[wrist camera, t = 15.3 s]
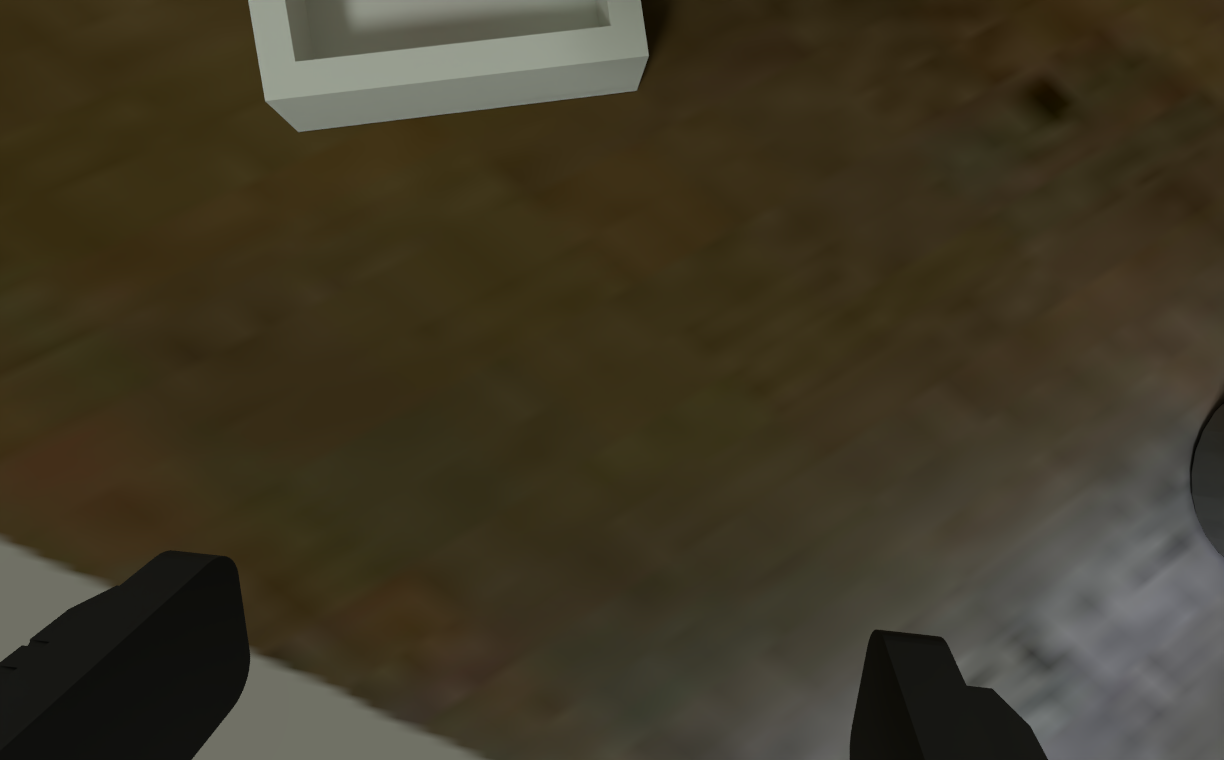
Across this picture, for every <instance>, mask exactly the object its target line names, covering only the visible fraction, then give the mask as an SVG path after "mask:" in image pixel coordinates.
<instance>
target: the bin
mask: <svg viewBox="0 0 1224 760" xmlns="http://www.w3.org/2000/svg"><path fill="white" fill-rule="evenodd" d="M248 2H249V7H250V13H251V19H252V25H253V31H254V37H255V43H256V49H257V55H258V61H259V67H260V73H261V79H262V85H263V90H264V96H265V101H266V102H267V103H268V104H269V105H270V106H271V107H272V108H273V109H274V110H275V111H277V112H278V113H279V114H280V115H281V116H282V117H283V118H284V119H285V120H286V121H287V122H288V123H289V124H290V125H292V126H293V127H294V128H295V129H296V130H297V131H298V132H302V131H310V130H318V129H326V128H335V127H343V126H351V125H359V124H367V123H376V122H384V121H392V120H400V119H409V118H417V117H425V116H433V115H441V114H450V113H458V112H466V111H474V110H482V109H491V108H499V107H507V106H515V105H523V104H532V103H540V102H548V101H556V100H565V99H573V98H581V97H589V96H597V95H606V94H614V93H622V92H630V91H637V88H638V85H639V83H640V80H641V77H642V74H643V71H644V68H645V66H646V63H647V60H648V57H649V53H648V46H647V40H646V33H645V26H644V19H643V12H642V6H641V0H248Z"/></svg>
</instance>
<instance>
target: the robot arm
mask: <svg viewBox="0 0 1224 760" xmlns="http://www.w3.org/2000/svg"><path fill="white" fill-rule="evenodd" d="M1192 497H1193V501H1194V506H1195V510H1196V514H1197V517H1198V520H1199V522H1200V524H1201V526H1202V529H1203V531H1204V533H1205V535H1206V537H1207V538H1208V539H1209V541H1210V542H1211V543H1212V545H1213V546H1214V547H1215V549H1216V550H1217V551H1218V553H1220V554H1221V555H1222V556H1223V557H1224V403H1223V404H1222V405H1221V406H1220V407H1219V409H1218V410H1217V411H1216V412H1215V413H1214V415H1213V416H1212V418H1211V419H1210V421H1209V422H1208V424H1207V426H1206V427H1205V429H1204V430H1203V433H1202V435H1201V438H1200V441H1199V443H1198V446H1197V448H1196V451H1195V457H1194V462H1193V468H1192ZM249 665H250V650H249V643H248V637H247V630H246V623H245V616H244V609H243V603H242V596H241V589H240V582H239V575H238V570H237V567H236V565H235V563H234V562H233V560H232V559H230V558H229V557H226V556H218V555H208V554H199V553H190V552H181V551H171V550H170V551H165V552H163V553H161V554H159V555H158V556H156V557H155V558H154V559H152V560H151V561H150V562H149V563H147V564H146V565H145V566H144V567H142V568H141V569H140V570H139V571H137V572H136V573H135V574H134V575H132V576H131V577H130V578H129V579H127V580H126V581H125V582H124V583H123V584H121V585H120V586H115V587H113V588H111V589H109V590H107V591H105V592H103V593H101V594H99V595H97V596H95V597H93V598H91V599H89V600H86V601H85V602H82V603H80V604H78V605H76V606H74V607H72V608H70V609H68V610H67V611H66V612H65V613H63V614H62V615H61V616H60V617H58V618H57V619H56V620H54V621H53V622H52V623H51V624H49V625H48V626H47V627H45V628H44V629H43V630H41V631H40V632H39V633H38V634H36V635H35V636H34V637H32V638H31V639H30V643H29V645H28V646H21V647H19V648H18V649H17V650H16V651H14V652H13V653H12V654H10V655H9V656H8V657H7V658H5V659H4V660H3V661H1V662H0V760H192V758H193V757H194V756H195V755H196V753H197V752H198V751H199V750H200V748H201V747H202V746H203V745H204V743H205V742H206V741H207V740H208V738H209V737H210V736H211V735H212V733H213V732H214V731H215V730H216V728H217V727H218V726H219V725H220V723H221V722H222V721H223V720H224V718H225V717H226V716H227V715H228V713H229V712H230V711H231V709H232V708H233V707H234V705H235V704H236V703H237V701H238V699H239V697H240V695H241V693H242V691H243V689H244V686H245V683H246V680H247V677H248V672H249ZM850 760H1048V759H1047V757H1046V755H1045V753H1044V751H1043V749H1042V747H1041V746H1040V744H1039V742H1038V740H1037V738H1036V736H1035V734H1034V732H1033V731H1032V729H1031V727H1030V726H1029V725H1028V724H1027V723H1026V722H1025V721H1024V720H1023V719H1022V718H1021V717H1020V716H1019V715H1018V714H1017V713H1016V712H1015V711H1014V710H1013V709H1012V708H1011V707H1010V706H1009V705H1008V704H1007V703H1006V702H1005V701H1004V700H1003V699H1002V698H1001V697H1000V696H999V695H998V694H997V693H996V692H995V691H994V690H993V689H991V688H982V687H973V686H966V684H965V681H964V679H963V677H962V675H961V673H960V671H959V668H958V666H957V664H956V662H955V660H954V657H953V655H952V653H951V651H950V649H949V647H948V645H947V643H946V641H945V640H944V639H943V638H942V637H939V636H930V635H921V634H912V633H902V632H893V631H884V630H874V631H873V632H872V634H871V636H870V639H869V643H868V647H867V652H866V657H865V662H864V667H863V673H862V678H861V683H860V688H859V693H858V698H857V703H856V709H855V714H854V719H853V724H852V730H851V738H850Z"/></svg>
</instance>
